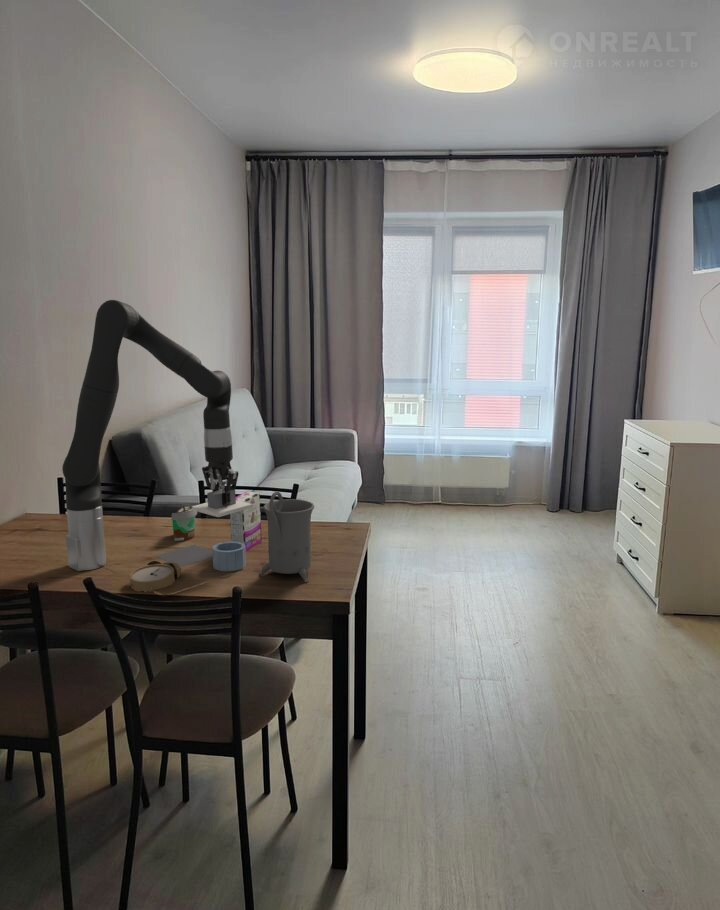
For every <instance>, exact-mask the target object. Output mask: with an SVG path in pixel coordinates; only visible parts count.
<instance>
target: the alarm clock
mask: <svg viewBox="0 0 720 910" xmlns="http://www.w3.org/2000/svg"><path fill="white" fill-rule="evenodd" d="M181 571H182V567H180V566H179V565H178V564H177V563H174V562H167V561H165V562H161V561H160V560H157V559H155V560H154V559H153V560H150V561H149V562H148V563H147V564H146V565H143V566H140V567H137V568H136V569H134V570H133V571H131V572H130V574H129V581H130V582H129V583H128V584H127V585H126V586H127V587H131V589H132V590H133V589H134V591H135V590H137V591H136V592H139V591H144V592H143V593H148V592H147V591H156V592H157V590H161V589H164V588H167V587H170V586H171V585H173V584H174V583H175V581H176V579H178V578H180V576H181ZM175 575H176V579H175Z"/></svg>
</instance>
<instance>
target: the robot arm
mask: <svg viewBox="0 0 720 910" xmlns="http://www.w3.org/2000/svg"><path fill="white" fill-rule="evenodd" d="M92 336H93V337H92V345H91V349H90V350H91V351H90V354H89V357H88V362H87V365H86V369H85V374H84V378H83V382H82V385H81V389H80V393H79V397H78V403H77V409H76V410H77V411H76V417H75V427H74V433H73V437H72V441H71V443H70V447H69V450H68V451H67V452H68V453H67V455H66V456H65V458H64V460H63V464H62V467H61V468H62V474H63V477H64V480H65V481H64V484H65V506H66V514H67V515H66V517H67V527H68V528H67V529H68V530H67V531H68V533H67V534H66V535H65V540H66V551H67V552H66V553H67V562H68V563H67V564H68V567H69V568H71V569H73V570H75V571H77V572H82V571H91V570H95V569H99V568H102V567H104V565H105V564H106V563H107V555H106V544H105V543H106V542H105V541H106V540H105V529H104V528H105V527H104V518H103V517H104V516H103V515H104V514H103V502H102V501H103V500H102V484H101V483H102V482H101V469H100V468H101V467H100V455H101V448H102V444H103V440H104V439H103V438H104V435H105V434H106V431H107V428H108V426H109V423H110V420H111V419H112V415H113V412H114V409H115V405H116V402H117V397H118V393H119V387H120V373H119V360H118V359H119V352H120V348H121V344H122V342H123V339H127V340H129V341H131V342H132V343H134V344H136V345H138V346H140V347H142V348H143V349H145V350H146V351H147V352H149V353H150V355H152V356H153V357H154V358H155V359H156V360H157V361H159V362H160V364H162V365H163V366H164V367H166V368H167V369H168V370H170V371H172V372H173V373H174V374H176V375H177V376H178V377H180V378H182V379H184V381H185V382H187V384H189V386H190V387H192V388H193V389H194V390H195V392H197V393H198V394H199V395H201V396H203V397H206V399H207V400H206V406H205V408H204V409H203V413H202V415H203V444H204V445H203V446H204V458H205V462H206V463H207V466H202V467H201V470H202V474H203V478H204V480H205V483H206V487H207V488H210V490H211V492H214V491H218V490H222V504H223V505H224V506H227V505H230V502H231V500H230V492H231V491H233V490H235V491H236V488H237V482H238V478H239V471H238V470H237V471H234V470H233V469H232V466H231V461H232V460H233V458H234V456H233V454H234V453H233V438H232V431H231V424H230V423H231V422H230V421H231V420H230V407H231V406H230V405H231V397H232V383H231V379H230V377H229V376H228V374H227V373H225V372H224V371H222V370H210V369H208V368H207V367H206V366H205V365H203V364H202V361H201V359H200V358H199V357H198V356H196V355H195V354H193V353H192V351H189V350H187V349H186V348H185V347H183V346H182V345H180V344H179V343H177V342H175V340H173V339H171V338H169V337H168V336H166V335H165V334H163V333H162V332H160V331H159V330H158V329H156V328H155V327H154V326H153V325H152V324H150V322H149V321H148V320H146V318H144V317H143V316H142V315H141V314H140V313H139V312H138V311H137V310H135V308H134V307H133V306H132V305H129V304H128V303H125V302H122V301H120V300H117V299H109V300H106V301H105V302H103V303H102V304H101V305H100V306H99V308H98V309H97V311H96V314H95V322H94V329H93V335H92Z"/></svg>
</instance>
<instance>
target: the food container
mask: <svg viewBox="0 0 720 910" xmlns="http://www.w3.org/2000/svg"><path fill="white" fill-rule="evenodd" d="M192 506H194V505H193V504H188V503H182V504H181V507H180V508H179V509H177V510H176V512H175V513H174V512H172V513H171V522H172V530H173V542H174V543H175V542H177V543H178V542H186V541H190V540H193V539H194V538H195V531H196V530H195V528H196V527H195V525H196V516H197V515H198V512H197V511H194V510H192Z"/></svg>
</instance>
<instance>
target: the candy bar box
mask: <svg viewBox="0 0 720 910" xmlns="http://www.w3.org/2000/svg"><path fill="white" fill-rule="evenodd" d="M235 497H236V500H238V501H242V502H246V503H250V504H253V508H249V509H246V510H242V511H239V512H235V513H232V514H229V522H230V538H231V539H230V542H231V541H232V542H241V543H243V544H245V546H246V553H247V552H248V551H249V550H251V549H253V548H254V547H256V546H258V545H261V544H262V543H263V540H262V539H263V537H262V535H263V534H262V520H261V519H262V518H261V515H262V514H261V495H260V492H256V491H245V492H243V493H241V494H239V495H237V496H235Z"/></svg>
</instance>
